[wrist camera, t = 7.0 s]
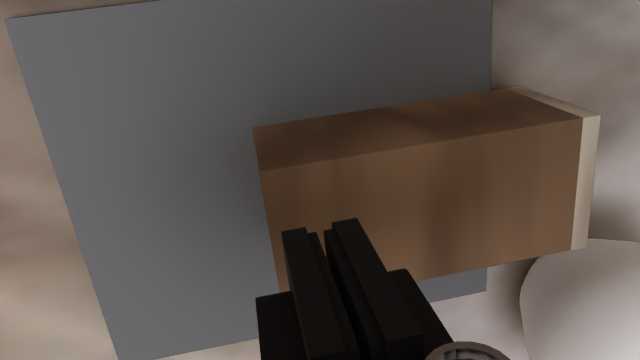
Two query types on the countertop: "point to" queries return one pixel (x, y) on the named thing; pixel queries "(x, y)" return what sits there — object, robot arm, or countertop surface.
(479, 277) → the mat
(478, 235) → the block
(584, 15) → the countertop surface
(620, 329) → the plain white apple
